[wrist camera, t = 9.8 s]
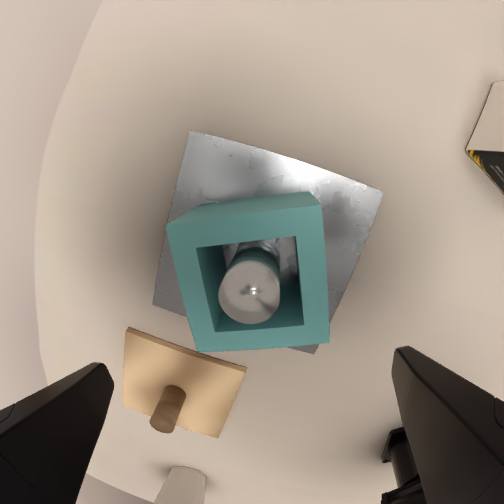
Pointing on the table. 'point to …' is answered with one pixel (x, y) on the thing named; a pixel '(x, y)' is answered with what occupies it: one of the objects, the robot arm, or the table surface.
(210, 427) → the stand
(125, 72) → the table surface
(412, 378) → the robot arm
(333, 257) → the silver peg base
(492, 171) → the medicine bottle
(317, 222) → the collar
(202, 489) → the grey bottle
